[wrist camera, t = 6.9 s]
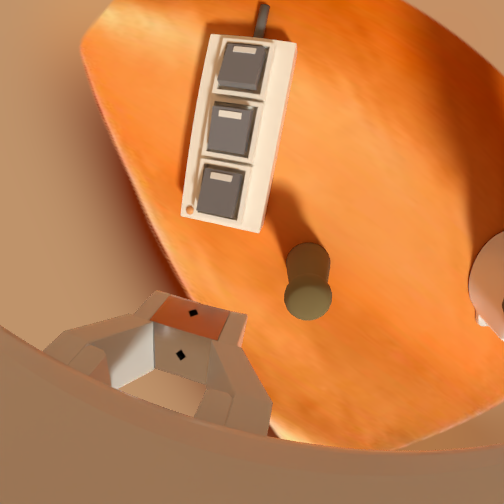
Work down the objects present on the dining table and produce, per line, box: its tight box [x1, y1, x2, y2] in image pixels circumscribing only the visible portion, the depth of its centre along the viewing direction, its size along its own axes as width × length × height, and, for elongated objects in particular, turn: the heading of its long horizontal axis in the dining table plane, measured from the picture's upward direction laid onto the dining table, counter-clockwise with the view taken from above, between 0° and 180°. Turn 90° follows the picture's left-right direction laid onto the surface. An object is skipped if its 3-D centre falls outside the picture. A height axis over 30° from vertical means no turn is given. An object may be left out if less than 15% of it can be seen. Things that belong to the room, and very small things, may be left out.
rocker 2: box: [208, 105, 253, 155], centre depth 31 cm, size 4×5×2 cm
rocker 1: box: [217, 44, 266, 90], centre depth 28 cm, size 4×5×2 cm
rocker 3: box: [196, 168, 243, 218], centre depth 33 cm, size 4×5×2 cm
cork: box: [284, 243, 332, 320], centre depth 36 cm, size 6×6×11 cm
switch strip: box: [181, 4, 297, 233], centre depth 33 cm, size 10×29×6 cm, turn 169°
